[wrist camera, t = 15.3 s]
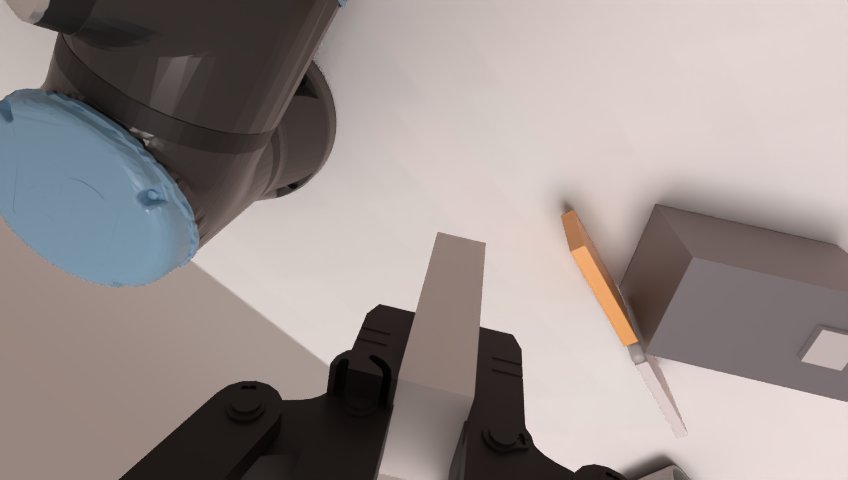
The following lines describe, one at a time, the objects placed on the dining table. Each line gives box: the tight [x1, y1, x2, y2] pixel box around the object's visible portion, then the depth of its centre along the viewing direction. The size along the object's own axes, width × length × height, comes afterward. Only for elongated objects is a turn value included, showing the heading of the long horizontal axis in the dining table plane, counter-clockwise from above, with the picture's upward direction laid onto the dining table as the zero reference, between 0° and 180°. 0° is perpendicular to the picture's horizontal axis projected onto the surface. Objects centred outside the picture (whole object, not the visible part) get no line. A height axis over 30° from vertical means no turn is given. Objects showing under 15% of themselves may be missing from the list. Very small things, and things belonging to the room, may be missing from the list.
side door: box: [561, 210, 688, 438], centre depth 45 cm, size 21×1×8 cm, turn 33°
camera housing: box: [619, 204, 848, 402], centre depth 42 cm, size 18×9×11 cm, turn 79°
